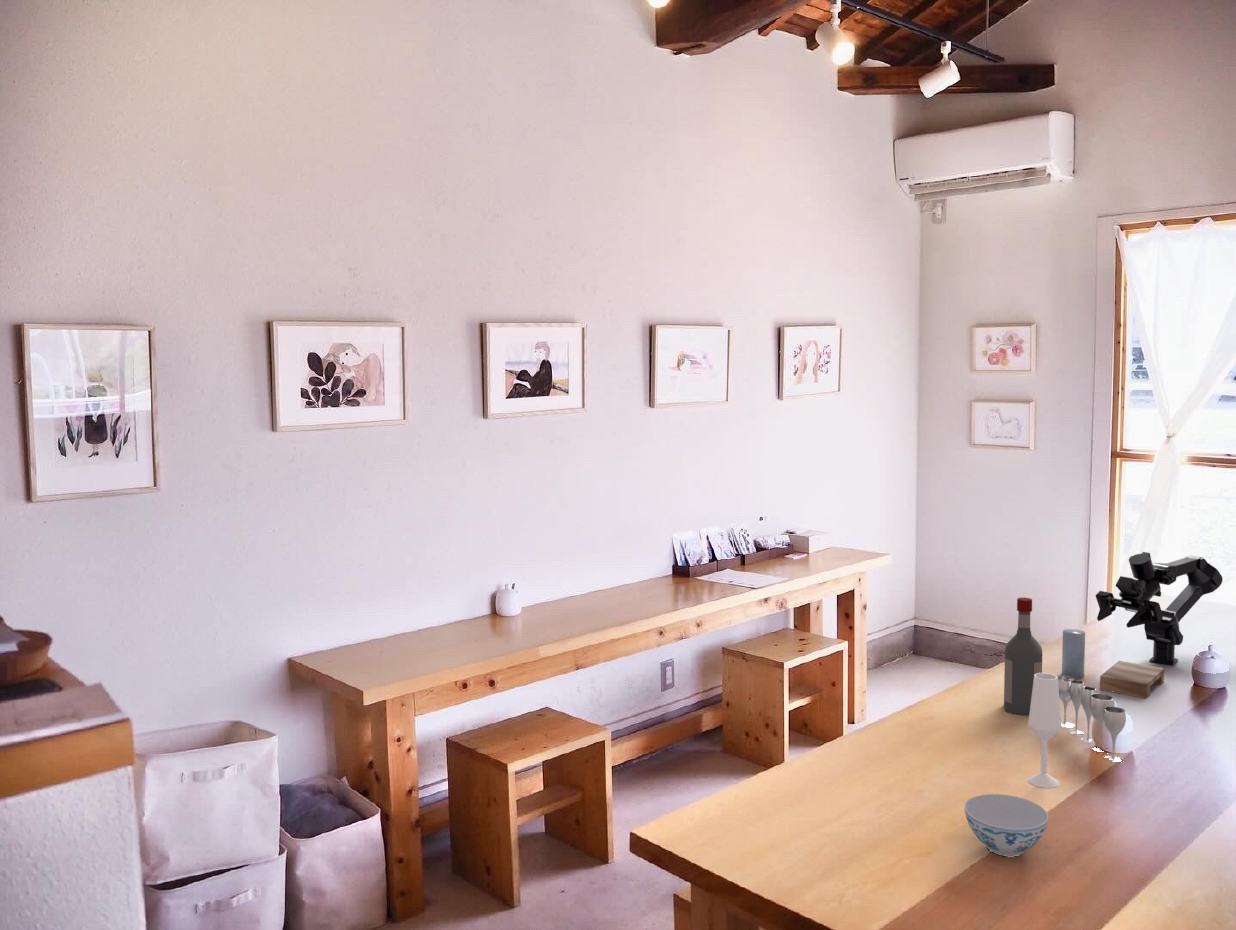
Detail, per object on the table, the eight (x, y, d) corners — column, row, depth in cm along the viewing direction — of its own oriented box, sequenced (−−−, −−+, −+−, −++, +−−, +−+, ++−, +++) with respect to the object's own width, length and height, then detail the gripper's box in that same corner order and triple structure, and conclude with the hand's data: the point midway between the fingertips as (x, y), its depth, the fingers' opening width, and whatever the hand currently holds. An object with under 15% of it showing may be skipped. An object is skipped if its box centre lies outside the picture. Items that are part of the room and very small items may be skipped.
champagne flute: (1058, 777, 228) (1061, 672, 226) (1061, 789, 222) (1063, 682, 220) (1026, 774, 231) (1028, 670, 228) (1027, 786, 224) (1030, 679, 222)
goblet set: (1130, 762, 236) (1132, 707, 234) (1106, 764, 235) (1108, 708, 234) (1070, 720, 264) (1071, 670, 262) (1048, 721, 263) (1049, 671, 262)
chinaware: (951, 833, 203) (951, 796, 202) (1024, 829, 204) (1024, 792, 203) (984, 871, 188) (985, 831, 187) (1062, 866, 189) (1063, 826, 189)
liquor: (1003, 713, 269) (1005, 601, 266) (1004, 702, 278) (1006, 594, 274) (1041, 717, 266) (1043, 604, 263) (1040, 706, 274) (1043, 596, 271)
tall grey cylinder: (1065, 670, 304) (1066, 628, 302) (1086, 674, 300) (1088, 631, 298) (1058, 675, 299) (1059, 632, 298) (1080, 679, 295) (1081, 635, 294)
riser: (1118, 674, 300) (1118, 660, 299) (1163, 681, 292) (1164, 668, 291) (1099, 689, 286) (1100, 676, 286) (1146, 698, 278) (1147, 684, 278)
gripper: (1106, 564, 307) (1076, 594, 301) (1166, 575, 291) (1135, 606, 285) (1115, 594, 311) (1086, 624, 305) (1175, 606, 295) (1145, 638, 289)
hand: (1112, 622), depth 296 cm, fingers open, 9 cm apart
